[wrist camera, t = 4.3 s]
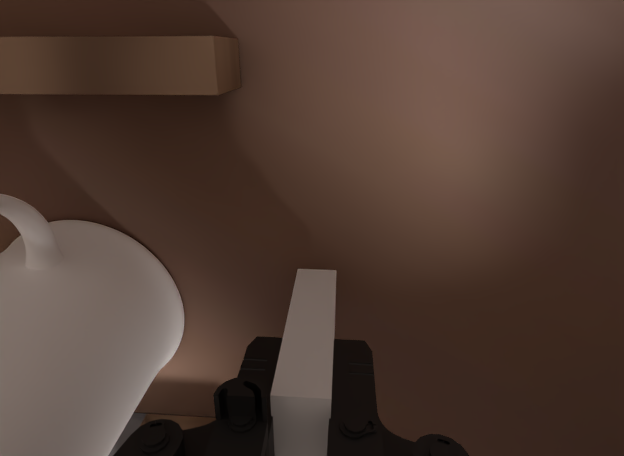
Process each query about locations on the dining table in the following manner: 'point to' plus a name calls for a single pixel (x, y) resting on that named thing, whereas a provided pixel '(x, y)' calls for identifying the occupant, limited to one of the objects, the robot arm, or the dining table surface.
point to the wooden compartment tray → (122, 90)
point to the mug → (78, 333)
